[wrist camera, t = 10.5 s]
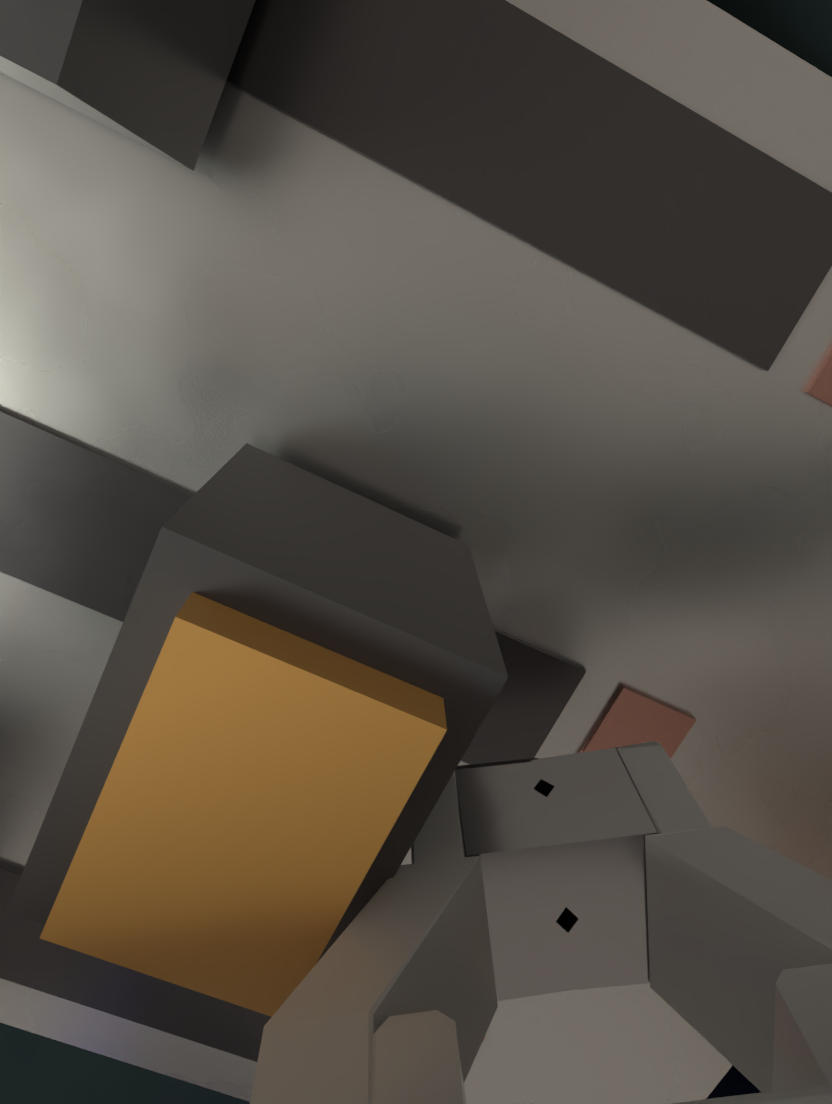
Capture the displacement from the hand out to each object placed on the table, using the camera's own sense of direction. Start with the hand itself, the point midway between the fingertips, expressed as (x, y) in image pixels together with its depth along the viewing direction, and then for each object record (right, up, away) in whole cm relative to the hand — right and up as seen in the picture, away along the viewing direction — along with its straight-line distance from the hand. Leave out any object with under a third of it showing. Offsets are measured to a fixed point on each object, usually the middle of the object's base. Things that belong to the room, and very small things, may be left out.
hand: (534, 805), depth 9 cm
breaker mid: (-3, +2, +1) cm, 4 cm away
